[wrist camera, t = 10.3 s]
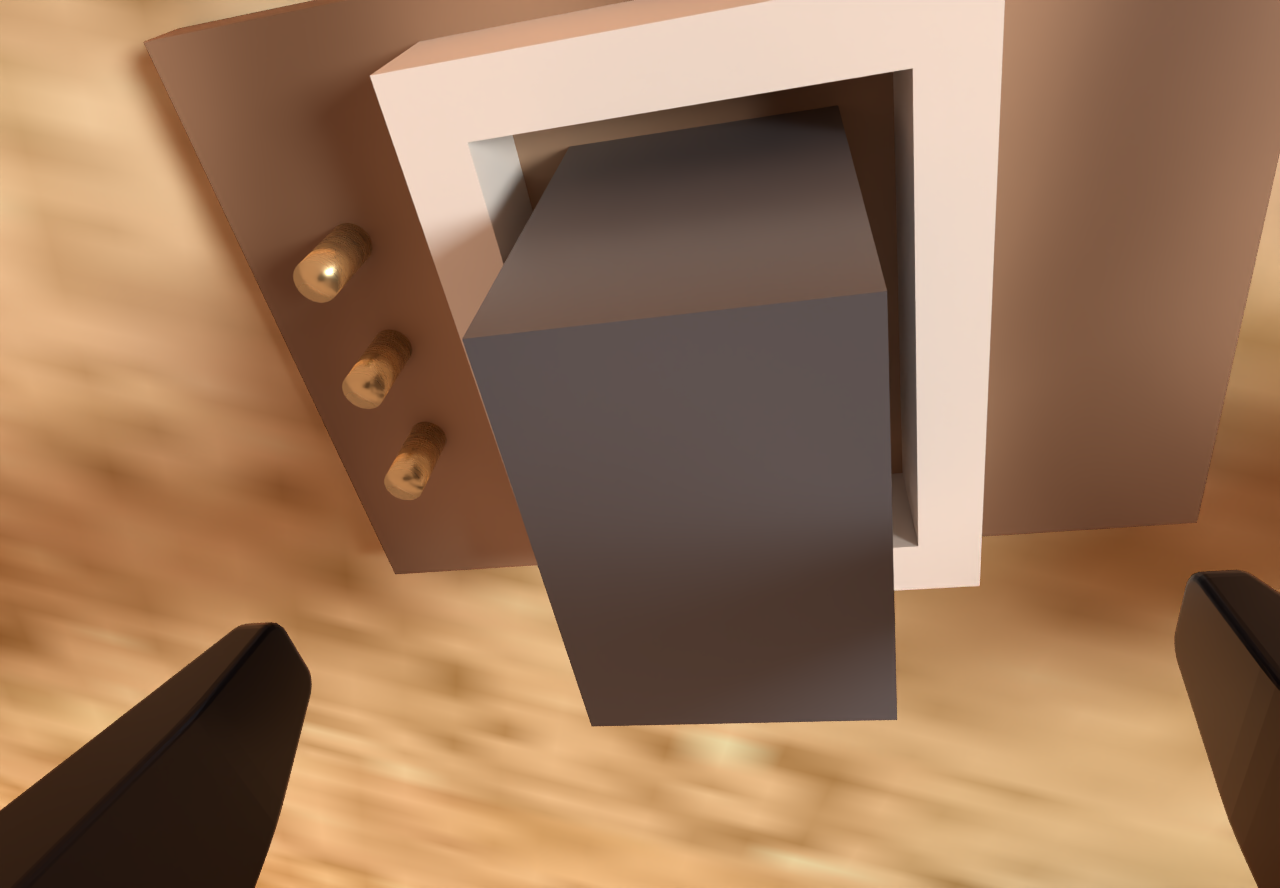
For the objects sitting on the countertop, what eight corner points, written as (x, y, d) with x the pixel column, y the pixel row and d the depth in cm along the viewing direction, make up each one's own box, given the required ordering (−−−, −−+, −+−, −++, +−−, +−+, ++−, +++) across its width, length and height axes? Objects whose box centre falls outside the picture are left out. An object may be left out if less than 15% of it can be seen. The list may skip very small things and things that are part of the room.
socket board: (1315, -208, 11) (1476, -213, 8) (1176, 488, 17) (1244, 602, 15) (179, 29, 14) (57, 75, 12) (409, 543, 20) (362, 643, 18)
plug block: (838, 105, 13) (886, 291, 8) (855, 443, 16) (897, 719, 11) (568, 146, 13) (462, 338, 9) (640, 460, 17) (592, 726, 12)
